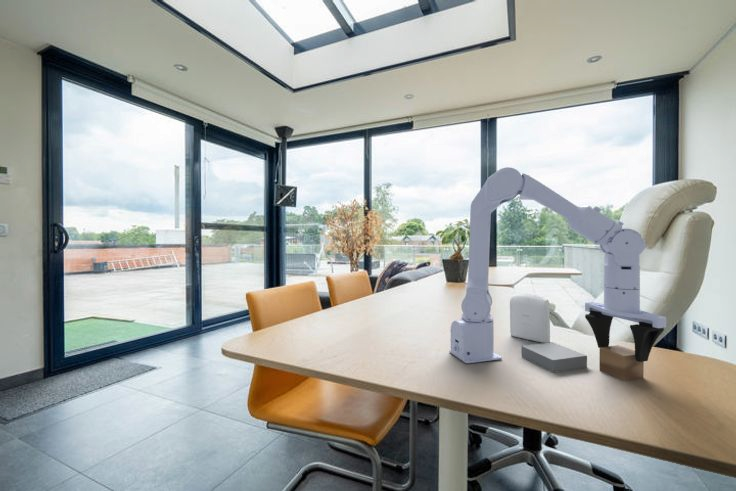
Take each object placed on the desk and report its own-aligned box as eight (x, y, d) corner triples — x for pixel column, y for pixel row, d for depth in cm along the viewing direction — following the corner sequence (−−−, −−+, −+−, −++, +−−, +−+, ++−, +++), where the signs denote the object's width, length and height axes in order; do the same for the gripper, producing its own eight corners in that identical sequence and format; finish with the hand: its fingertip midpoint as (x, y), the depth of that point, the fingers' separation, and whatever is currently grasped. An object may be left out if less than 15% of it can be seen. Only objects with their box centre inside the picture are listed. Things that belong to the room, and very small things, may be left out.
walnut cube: (624, 381, 61) (624, 356, 61) (599, 371, 66) (599, 347, 66) (643, 378, 62) (643, 353, 62) (617, 368, 67) (617, 345, 67)
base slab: (552, 374, 66) (552, 360, 65) (521, 358, 74) (521, 345, 74) (586, 369, 68) (587, 355, 68) (552, 354, 76) (552, 342, 76)
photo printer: (507, 336, 90) (507, 293, 90) (514, 333, 93) (514, 291, 92) (546, 345, 82) (546, 298, 82) (552, 341, 85) (552, 295, 84)
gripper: (678, 292, 58) (678, 365, 58) (602, 281, 72) (602, 340, 72) (649, 294, 56) (649, 369, 56) (577, 283, 70) (577, 343, 70)
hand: (621, 353), depth 64 cm, fingers open, 7 cm apart
